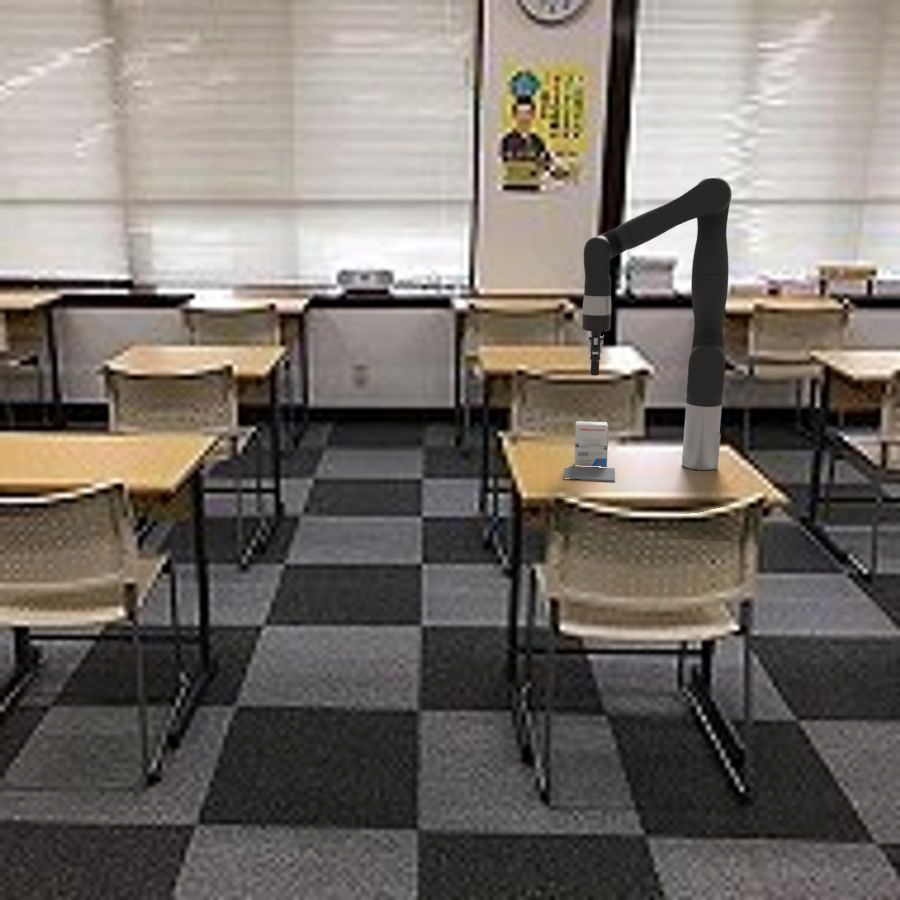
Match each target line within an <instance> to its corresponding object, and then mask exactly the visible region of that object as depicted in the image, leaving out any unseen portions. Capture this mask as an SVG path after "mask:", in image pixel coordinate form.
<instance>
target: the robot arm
mask: <svg viewBox="0 0 900 900" xmlns="http://www.w3.org/2000/svg"><path fill="white" fill-rule="evenodd" d="M731 200H732V189H731V186H730V184H729V183H728V182H727V181H726V180H725V179H724V178H721V177H720V176H707V177H706V178H704V179H702V180H701V181H699V182H698V183H697V184H696V185H695V186H694V187H692V188H691V189H689V190H688V191H686V192H685V193H683V194H682V195H679V196H678V197H676V198H675V199H673V200H671V201H669V202H667V203H664V204H663V205H661V206H658V207H655V208H654V209H651V210H649V211H646V212H643V213H642V214H639V215H636V216H635V217H633V218H631V219H628V220H626V221H625V222H623V223H621V224H619V225H618V226H617V227H615V228H613V229H611V230H608V231H606V232H604V233H601V234H598V235H596V236H593V237H590V238H589V239H588V240H587V241H586V243H585V245H584V249H583V268H584V290H583V291H584V294H583V300H582V301H583V302H582V322H581V323H582V326H581V328H582V330H583V331H585V332H591V334H590V336H588V345H589V346H588V354H589V355H590V357H589V360H590V375H591V376H599V375H600V362H601V355H602V353H603V345H604V336H602V332H607V331H608V332H609V331H610V330H611V328H612V327H611V325H612V323H611V322H612V296H611V295H612V278H611V275H610V263H611V259H613V258H615V257H617V256H618V255H620V254H623V253H624V252H626V251H628V250H632V249H635V248H637V247H640V246H641V245H643V244H646V243H647V242H650V241H652V240H653V239H656V238H657V237H659V236H661V235H662V234H665V233H666V232H668V231H669V230H672V229H674V228H675V227H677V226H679V225H681V224H685V223H687V222H689V221H691V220H694V219H696V222H697V233H696V234H697V235H696V240H695V247H694V250H693V251H694V252H693V258H692V266H691V284H690V285H691V286H690V287H691V288H690V289H691V305H692V312H693V320H694V327H693V328H694V329H693V337H692V343H691V348H690V349H691V350H690V355H689V357H688V358H689V359H688V366H687V368H688V369H687V383H686V384H687V385H686V400H685V413H684V414H685V415H684V416H685V417H684V426H683V427H684V429H683V440H682V441H683V444H682V455H681V465H683V466H682V467H684V466H685V467H684V468H686V467H687V469H691V470H695V469H697V471H711V470H719V458H720V448H721V447H720V445H721V431H720V430H721V423H722V422H721V419H722V408H723V397H724V396H723V395H724V383H725V373H726V372H725V370H726V354H725V353H726V352H725V346H724V345H725V344H724V335H723V334H724V328H723V326H724V317H725V310H726V305H727V298H728V290H729V251H728V250H729V249H728V248H729V247H728V240H727V229H728V228H727V227H728V219H729V218H728V217H729V212H730V204H731Z"/></svg>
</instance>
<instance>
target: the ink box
mask: <svg viewBox="0 0 900 900" xmlns="http://www.w3.org/2000/svg"><path fill="white" fill-rule="evenodd" d="M574 435H575V436H574V466H575V465H580V466H601V467H607V468H608V446H609V424H608V422H607V421H581V420H579V421H575V433H574Z"/></svg>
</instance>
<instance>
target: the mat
mask: <svg viewBox="0 0 900 900" xmlns="http://www.w3.org/2000/svg"><path fill="white" fill-rule="evenodd" d="M569 466H570V467H568V468H565V467H564V473H563V477H562V478H570V479H579V480H578V481H585V480H588V481H589V482H604V481H607V483H608V482H609V483H616V472H615V471H616V468H615V467H607V468H599V467H580V466H578V467H577V466H575V465H569ZM588 481H587V482H588Z"/></svg>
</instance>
